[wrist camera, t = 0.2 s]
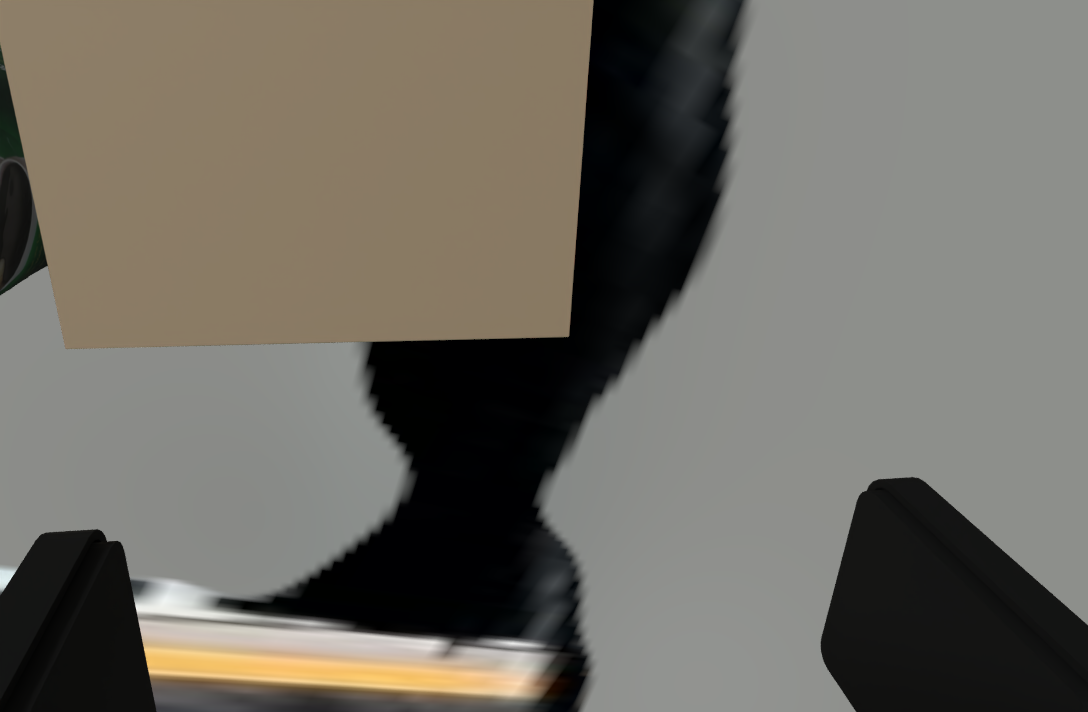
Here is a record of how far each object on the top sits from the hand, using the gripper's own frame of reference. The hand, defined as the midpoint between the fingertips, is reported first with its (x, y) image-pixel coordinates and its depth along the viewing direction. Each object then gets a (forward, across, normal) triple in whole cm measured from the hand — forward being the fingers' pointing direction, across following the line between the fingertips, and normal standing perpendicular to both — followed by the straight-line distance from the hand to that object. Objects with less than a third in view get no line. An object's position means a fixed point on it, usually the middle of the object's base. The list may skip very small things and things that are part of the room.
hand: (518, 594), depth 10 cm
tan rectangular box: (+31, +3, -3) cm, 31 cm away
